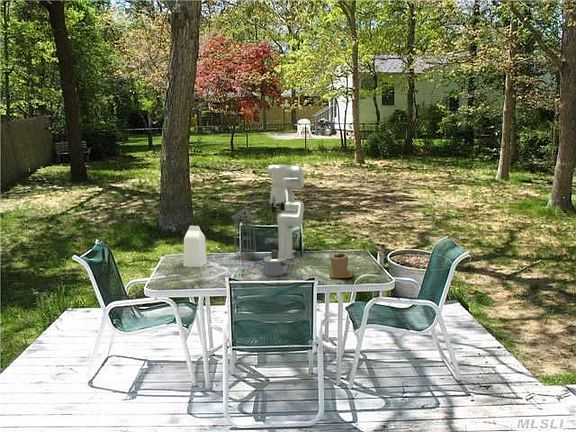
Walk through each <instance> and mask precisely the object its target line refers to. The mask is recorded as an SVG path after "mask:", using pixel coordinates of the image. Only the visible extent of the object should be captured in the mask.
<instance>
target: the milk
mask: <svg viewBox="0 0 576 432" xmlns="http://www.w3.org/2000/svg"><path fill="white" fill-rule="evenodd" d="M206 263H207V264H208V258H207V247H206V236H205V234H204V233H203V232H202V230H201V228H200V226H199V225H189V227H188V229H187V231H186V233H185V236H184V238H183V265H182V266H183V267H190V268H191V267H192V268H202V267H203V266H205V265H206ZM204 264H205V265H204ZM201 266H202V267H201Z"/></svg>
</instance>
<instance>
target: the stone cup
mask: <svg viewBox="0 0 576 432" xmlns="http://www.w3.org/2000/svg"><path fill="white" fill-rule="evenodd" d="M348 265H349V256H348V254H347V253H345V252H339V253H333V254H332V255H330V266H331V268H332V271H331V272H330V273H328V274H329V275H328V276H329V277H330V278H332V279H347V278H348V279H349V278H350V279H351V277H352V278H353V277H354V270H348Z"/></svg>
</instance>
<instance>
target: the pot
mask: <svg viewBox="0 0 576 432" xmlns="http://www.w3.org/2000/svg"><path fill="white" fill-rule="evenodd" d="M285 261H286V260H285ZM285 261H282V262H267V261H264V259H263V260H262V263H264V275H265V276H268V277H281V276H284V275H285V270H286V268H285V267H286V266H287V265H288V264H287V262H286V263H285Z"/></svg>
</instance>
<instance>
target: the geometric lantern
mask: <svg viewBox="0 0 576 432" xmlns="http://www.w3.org/2000/svg"><path fill="white" fill-rule="evenodd" d="M244 212H245V214H244ZM258 216H259V215H258V214H257V213H255V212H253V211H251V210H250V209H247V208H243V209H241V210H240V211H238V212H237V213H235V214H233V215H232V216H231V219H232V220H234V225H235V226H234V239H233V240H234V241H233V242H234V243H233V254H235V255H236V256H237V259H238V260H241V257H244V258H243V260H246V261H249V260H251V259H252V258H253V254H255V253H256V252H257V243H256V241H257V240H256V233H255V224H256V220H257V218H258ZM239 219H240V220H241V221H240V220H239ZM247 221H250V224H249V225H246V222H247ZM240 224H242V225H240ZM238 225H239V226H238ZM244 227H245V230H246V231H248V234H249V235H248V236H249V237H251V230H252V233H253V235H252V237H253V242H254V248H253V250H252V243H251V242H252V240H251V238H249V239H248V237H246V249H245V248H244ZM237 229H238V230H241V231H242V233H241V234H242V235H241V234H239V236H238V237H239V238H238V239H239V241H238V249H237ZM241 238H242V239H241ZM248 240H249V243H248ZM241 241H242V242H241ZM241 243H242V244H241ZM248 244H249V245H248ZM240 245H241V246H240ZM240 247H241V248H240ZM249 247H250V248H249ZM243 251H247V252H246V253H245V252H243ZM249 251H250V252H249ZM245 257H246V258H245Z"/></svg>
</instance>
